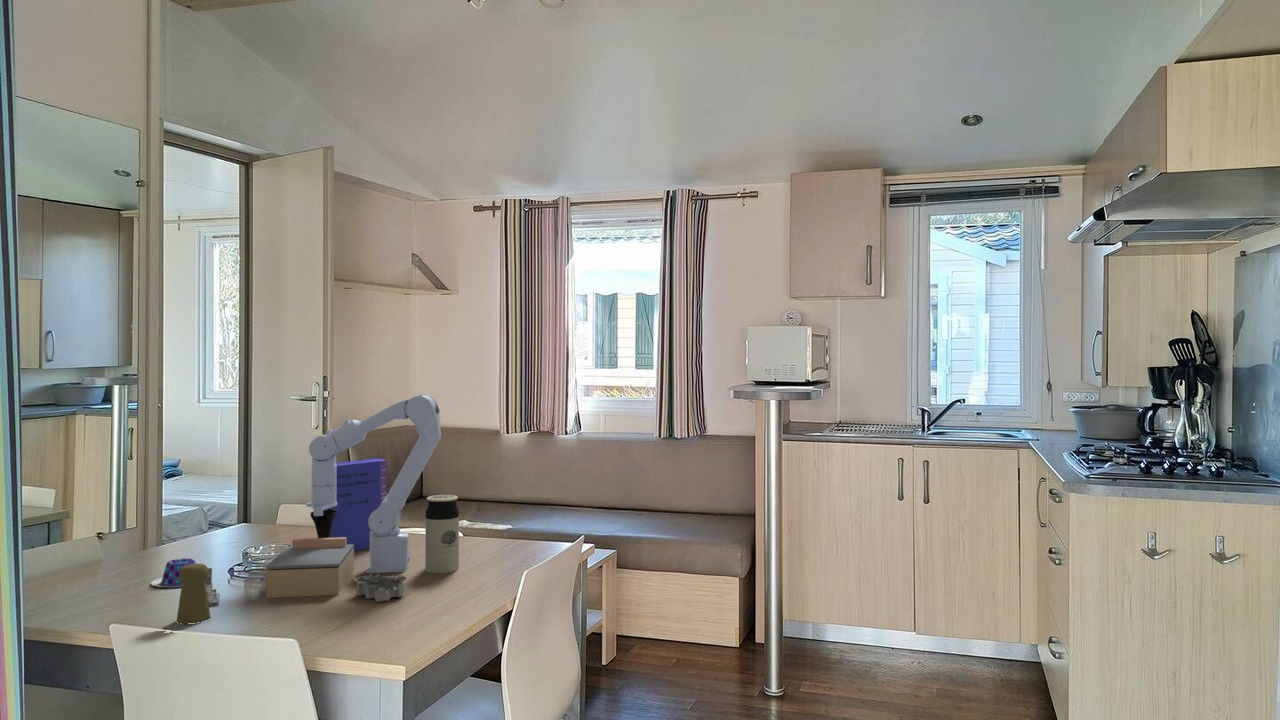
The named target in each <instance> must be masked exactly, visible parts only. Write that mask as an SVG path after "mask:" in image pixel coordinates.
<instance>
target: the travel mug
mask: <svg viewBox="0 0 1280 720" xmlns="http://www.w3.org/2000/svg"><path fill="white" fill-rule="evenodd" d="M458 499H459V497H458V495H454V494H437V495H430V496H428V497H426V500H427V503H428V505H427V508H426V510H425V547H424V548H425V554H424V555H425V557H424V558H425V559H424V561H425V569H424V570H425V572H427V573H432V574H447V573H452V572H455V571H458V570H459V567H460V564H459V563H460V556H459V555H460V509H459V507H458V506H457V502H458Z"/></svg>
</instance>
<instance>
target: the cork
mask: <svg viewBox="0 0 1280 720" xmlns="http://www.w3.org/2000/svg"><path fill="white" fill-rule="evenodd" d="M208 568H209V567H208V566H207V565H206V564H204V563H196V564H189V565H185V566H183V567H182V568H181V569H180V571H179V578H180V581H181V582H182V587H180V588H181V589H180V594H179V601H178V608H177V614H176V621H177V622H178V623H182V624H188V623H197V622H202V621H205V620H208V619H210V618H211V611H210V606H209V603H208V596H207V589H206V582H205V580H206V579H207V577H208V574H209V571H208ZM210 620H211V619H210ZM208 621H209V620H208ZM177 622H176V623H177Z"/></svg>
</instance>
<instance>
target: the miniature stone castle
mask: <svg viewBox="0 0 1280 720" xmlns="http://www.w3.org/2000/svg"><path fill="white" fill-rule="evenodd" d="M208 571H209V574H208V577H207V579H206V580H205V582H206V589H207V596H208V603H209V607H215V606H217V605H218V606H219V605H220V597H221V596H220V595H221V593H220V592H217V587H216V586H215V587H214V586H213V585H214V584H213V582H214V581H213V580H212V579H213V577H212V576H213V568H212V567H208Z"/></svg>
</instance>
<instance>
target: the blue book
mask: <svg viewBox="0 0 1280 720" xmlns="http://www.w3.org/2000/svg"><path fill="white" fill-rule="evenodd" d="M336 466H337V496H336V502H337V506H335V507H332V508H330V509H336V510H337V513H336V515H335V518H334V520H333V523H332V528H331V533H330V537H329V538H338V537H347V544H354V547H353V548H354V552H358V551H363V550H367V549H368V550H369V549H370V531H371V529H370V528H369V525H368V519H369V516H370V515H371V513H372V512H373V511H375V510H376V509H378V507H379V506H380V505H381V503H382V502H383V500H384V499H385V497H386V496H387V460H386V459H384V458H370V459H362V460H361V459H360V460H353V461H345V462H344V461H343V462H342V461H341V462H336Z"/></svg>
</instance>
